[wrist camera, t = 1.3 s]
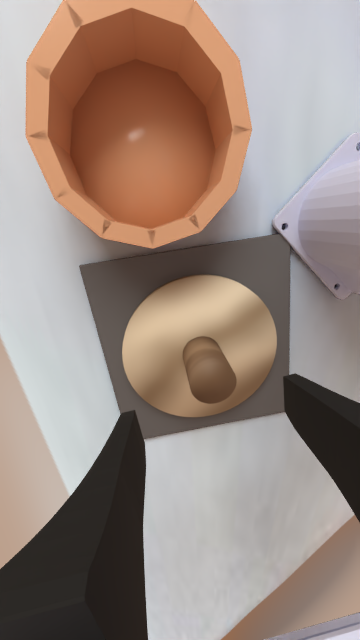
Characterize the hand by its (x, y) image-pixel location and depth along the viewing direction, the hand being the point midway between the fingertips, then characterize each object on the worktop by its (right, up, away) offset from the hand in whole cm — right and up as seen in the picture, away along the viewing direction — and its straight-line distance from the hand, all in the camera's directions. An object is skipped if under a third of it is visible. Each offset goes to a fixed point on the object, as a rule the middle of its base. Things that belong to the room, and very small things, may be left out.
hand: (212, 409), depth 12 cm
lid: (0, +2, +10) cm, 10 cm away
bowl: (-4, +15, +5) cm, 17 cm away
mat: (0, +2, +11) cm, 11 cm away
